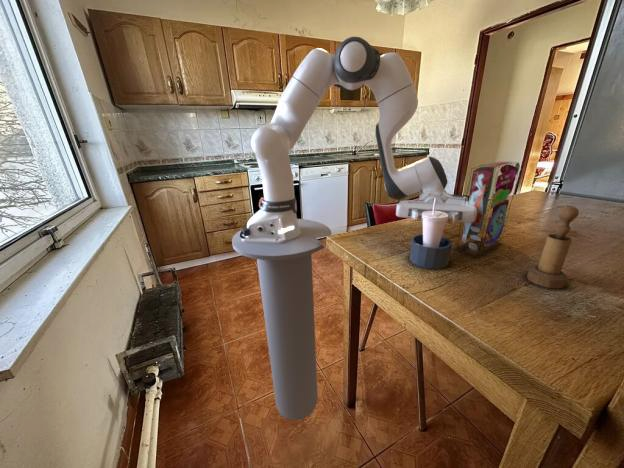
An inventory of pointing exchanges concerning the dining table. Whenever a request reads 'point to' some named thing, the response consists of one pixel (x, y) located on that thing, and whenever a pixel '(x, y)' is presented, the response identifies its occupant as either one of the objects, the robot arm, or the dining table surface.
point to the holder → (430, 253)
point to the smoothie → (433, 226)
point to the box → (499, 203)
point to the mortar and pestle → (554, 253)
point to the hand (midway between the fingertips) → (434, 219)
